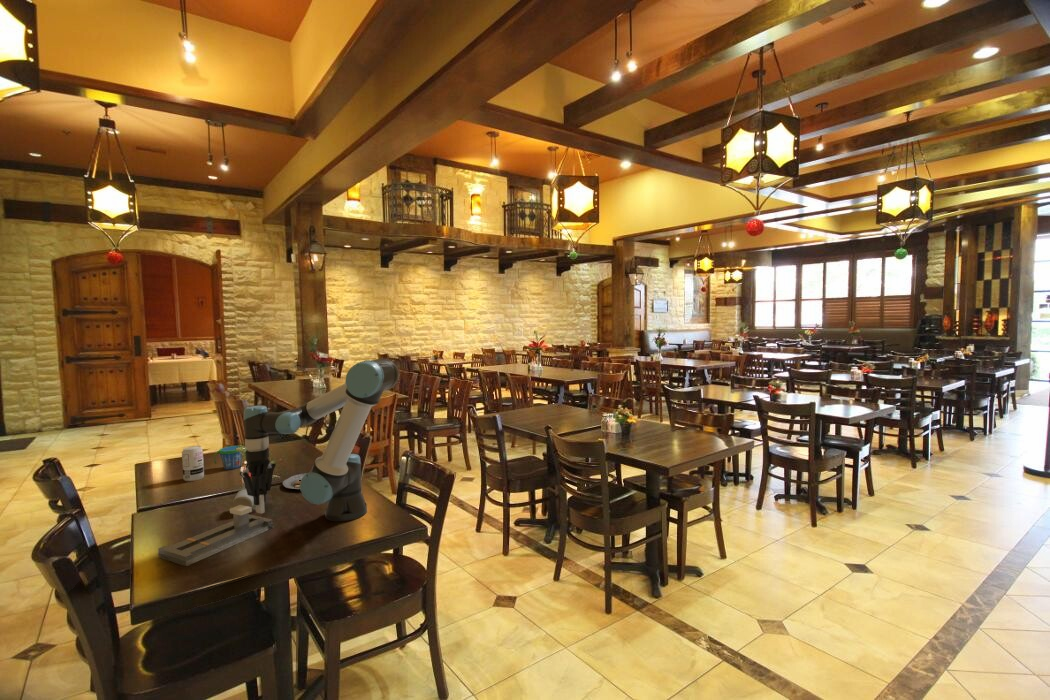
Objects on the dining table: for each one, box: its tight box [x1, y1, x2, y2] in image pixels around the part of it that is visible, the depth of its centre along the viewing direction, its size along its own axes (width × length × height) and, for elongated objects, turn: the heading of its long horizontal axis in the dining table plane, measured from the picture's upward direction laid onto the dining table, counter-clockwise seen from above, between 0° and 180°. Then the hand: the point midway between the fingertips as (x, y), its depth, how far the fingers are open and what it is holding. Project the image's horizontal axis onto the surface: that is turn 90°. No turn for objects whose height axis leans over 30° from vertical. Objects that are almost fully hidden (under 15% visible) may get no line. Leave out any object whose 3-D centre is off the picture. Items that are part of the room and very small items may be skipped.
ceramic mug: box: [231, 488, 256, 511], centre depth 194 cm, size 11×8×8 cm
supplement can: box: [181, 445, 205, 482], centre depth 234 cm, size 8×8×15 cm
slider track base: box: [157, 514, 274, 567], centre depth 166 cm, size 30×14×3 cm, turn 155°
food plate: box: [282, 471, 310, 491], centre depth 226 cm, size 25×23×4 cm
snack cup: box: [213, 445, 244, 470], centre depth 251 cm, size 16×10×10 cm
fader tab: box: [229, 505, 253, 529], centre depth 173 cm, size 4×6×7 cm, turn 65°
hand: (260, 512), depth 180 cm, fingers closed
